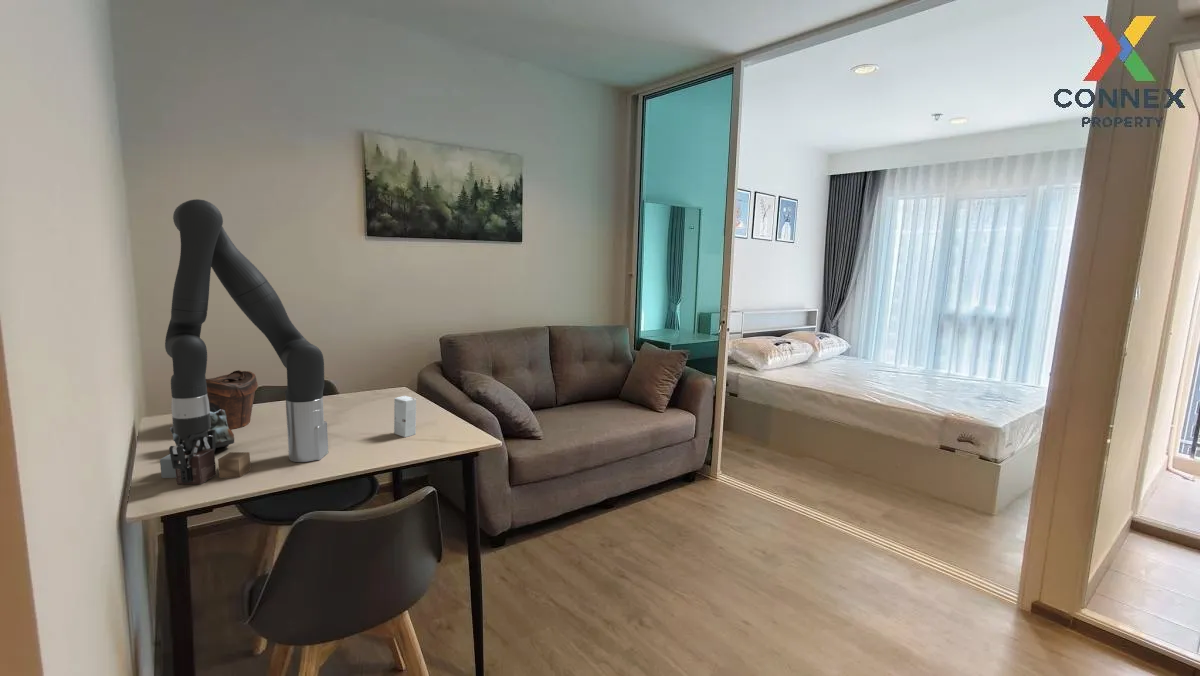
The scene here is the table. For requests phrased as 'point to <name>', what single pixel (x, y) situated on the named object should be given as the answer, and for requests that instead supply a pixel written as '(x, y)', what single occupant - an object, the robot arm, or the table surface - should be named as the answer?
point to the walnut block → (234, 464)
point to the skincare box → (405, 416)
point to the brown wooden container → (233, 396)
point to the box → (200, 467)
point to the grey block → (167, 467)
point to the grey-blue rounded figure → (216, 429)
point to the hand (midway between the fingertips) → (196, 476)
